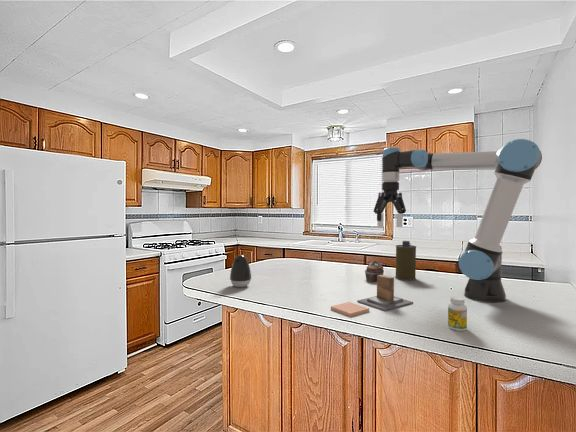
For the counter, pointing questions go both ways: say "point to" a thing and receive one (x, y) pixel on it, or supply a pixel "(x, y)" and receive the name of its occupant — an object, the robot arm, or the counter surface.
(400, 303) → the mat
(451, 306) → the supplement bottle
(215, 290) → the counter surface
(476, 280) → the robot arm
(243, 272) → the black grey egg shape
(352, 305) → the tile
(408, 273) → the canister
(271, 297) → the counter surface
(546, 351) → the counter surface
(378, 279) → the wooden block on base
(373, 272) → the cupcake
